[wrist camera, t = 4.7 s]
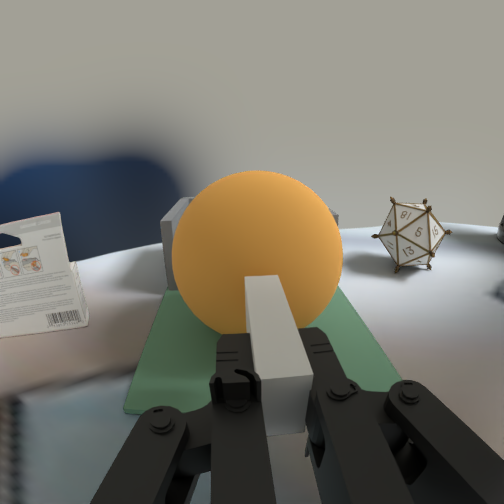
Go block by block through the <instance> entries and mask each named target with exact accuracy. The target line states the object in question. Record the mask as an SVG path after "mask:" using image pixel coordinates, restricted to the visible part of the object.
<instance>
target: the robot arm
mask: <svg viewBox="0 0 504 504" xmlns="http://www.w3.org/2000/svg"><path fill="white" fill-rule="evenodd" d="M497 238H498V239H499V240H500V241H501V242H502V243H504V216H503V218H502V221H501V223H500V224H499V227H498V233H497ZM245 307H246V330H247V333H238V334H223V335H222V336H221V337H220V339H219V340H218V342H217V349H216V373H215V374H214V375H213V376H211V379H210V382H209V387H210V394H211V401H210V402H209V403H208V404H207V405H205V406H204V407H202V408H200V409H197V410H194V411H190V412H186V413H182V412H181V411H179V410H178V409H176V408H174V407H171V406H156V407H152V408H150V409H148V410H146V411H145V412H144V413H143V414H142V415H141V416H140V417H139V419H138V421H137V422H136V424H135V426H134V427H133V429H132V431H131V433H130V434H129V436H128V438H127V440H126V441H125V443H124V445H123V446H122V448H121V450H120V452H119V453H118V455H117V457H116V459H115V460H114V462H113V464H112V466H111V467H110V469H109V471H108V473H107V474H106V476H105V478H104V480H103V481H102V483H101V485H100V487H99V488H98V490H97V492H96V494H95V495H94V497H93V499H92V501H91V503H90V504H190V501H191V498H192V495H193V493H194V490H195V487H196V484H197V481H198V478H199V476H200V474H201V473H205V472H208V471H211V504H276V498H275V492H274V485H273V478H272V472H271V465H270V458H269V451H268V444H267V437H266V436H274V435H284V434H293V433H300V432H304V431H305V425H306V426H307V430H308V433H309V435H308V440H307V445H306V449H305V457H308V455H309V454H310V458H311V462H312V466H313V470H314V474H315V478H316V482H317V486H318V490H319V494H320V498H321V502H322V504H504V460H503V459H502V458H501V457H500V456H499V455H498V454H497V453H496V452H495V451H493V450H492V449H491V448H490V447H489V446H488V445H487V444H486V443H485V442H484V441H483V440H482V439H481V438H480V437H479V436H478V435H476V434H475V433H474V432H473V431H472V430H471V429H470V428H469V427H468V426H467V425H466V424H465V423H464V422H463V421H462V420H460V419H459V418H458V417H457V416H456V415H455V414H454V413H453V412H452V411H451V410H450V409H449V408H447V407H446V406H445V405H444V404H443V403H442V402H441V401H440V400H439V399H438V398H437V397H436V396H434V395H433V394H432V393H431V392H430V391H429V390H428V389H427V388H426V387H425V386H423V385H422V384H420V383H418V382H415V381H412V380H402V381H399V382H396V383H395V384H393V385H392V386H391V388H390V390H389V392H376V391H366V390H363V389H361V388H360V386H359V385H358V384H357V383H356V382H354V381H353V380H351V379H348V378H347V377H346V375H345V372H344V370H343V368H342V366H341V364H340V362H339V360H338V358H337V356H336V353H335V352H334V349H333V347H332V345H331V344H330V341H329V339H328V337H327V335H326V333H324V332H323V331H322V330H321V329H319V328H318V327H310V328H299V329H297V326H296V324H295V321H294V318H293V315H292V312H291V310H290V307H289V304H288V301H287V299H286V296H285V293H284V290H283V288H282V285H281V282H280V280H279V277H278V275H266V276H246V277H245Z"/></svg>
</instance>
